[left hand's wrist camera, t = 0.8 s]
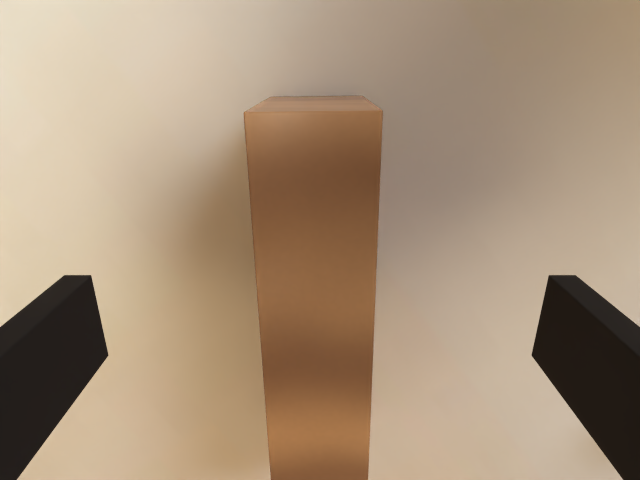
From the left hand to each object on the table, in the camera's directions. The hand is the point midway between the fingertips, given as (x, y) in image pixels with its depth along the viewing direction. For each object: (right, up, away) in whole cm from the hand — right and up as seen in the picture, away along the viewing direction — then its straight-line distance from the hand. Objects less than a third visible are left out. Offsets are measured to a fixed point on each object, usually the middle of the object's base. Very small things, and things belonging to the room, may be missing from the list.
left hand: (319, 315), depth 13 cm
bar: (0, 0, +15) cm, 15 cm away
